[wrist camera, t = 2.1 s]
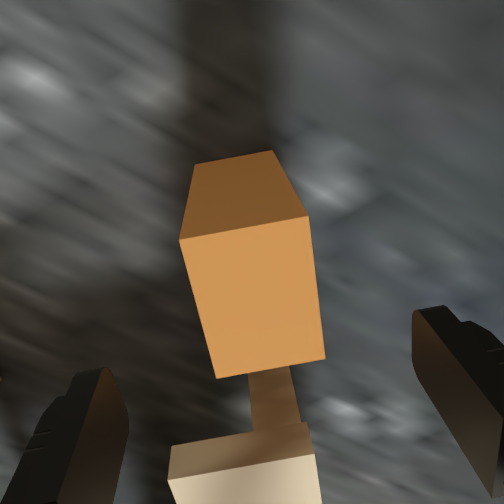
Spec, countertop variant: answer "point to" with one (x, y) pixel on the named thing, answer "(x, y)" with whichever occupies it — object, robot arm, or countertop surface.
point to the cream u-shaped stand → (252, 454)
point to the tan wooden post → (251, 265)
